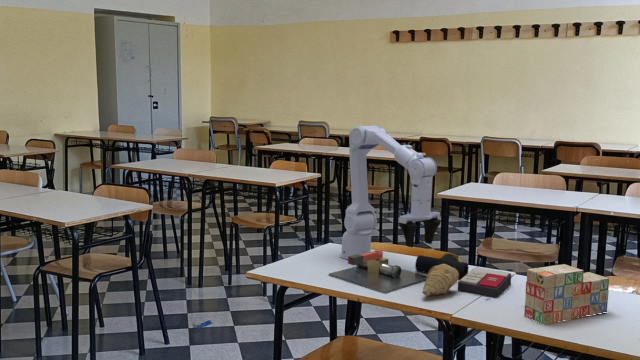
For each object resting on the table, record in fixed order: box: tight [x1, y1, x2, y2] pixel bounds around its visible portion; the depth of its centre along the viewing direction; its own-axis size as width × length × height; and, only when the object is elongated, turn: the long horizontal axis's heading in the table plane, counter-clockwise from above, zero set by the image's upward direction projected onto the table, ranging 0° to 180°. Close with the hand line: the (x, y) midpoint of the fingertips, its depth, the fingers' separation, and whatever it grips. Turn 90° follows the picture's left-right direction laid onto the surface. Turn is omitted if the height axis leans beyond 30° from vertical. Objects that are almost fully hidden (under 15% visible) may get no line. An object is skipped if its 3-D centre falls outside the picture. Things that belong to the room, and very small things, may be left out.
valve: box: [328, 257, 427, 294], centre depth 178 cm, size 22×21×5 cm
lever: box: [347, 249, 384, 266], centre depth 178 cm, size 13×3×2 cm, turn 133°
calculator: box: [457, 266, 512, 299], centre depth 170 cm, size 11×4×15 cm
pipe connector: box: [414, 252, 469, 280], centre depth 185 cm, size 12×5×15 cm
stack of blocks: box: [523, 263, 610, 325], centre depth 148 cm, size 21×6×12 cm, turn 114°
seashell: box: [421, 264, 459, 296], centre depth 162 cm, size 14×8×8 cm, turn 148°
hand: (419, 244), depth 177 cm, fingers open, 7 cm apart
